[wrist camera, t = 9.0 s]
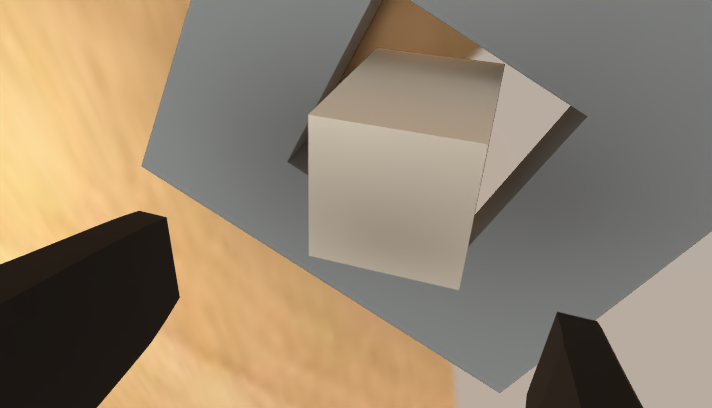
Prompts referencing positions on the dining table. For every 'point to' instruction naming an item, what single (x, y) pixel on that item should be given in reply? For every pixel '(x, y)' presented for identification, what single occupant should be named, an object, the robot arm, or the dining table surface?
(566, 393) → the robot arm
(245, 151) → the board
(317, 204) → the peg
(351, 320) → the dining table surface
